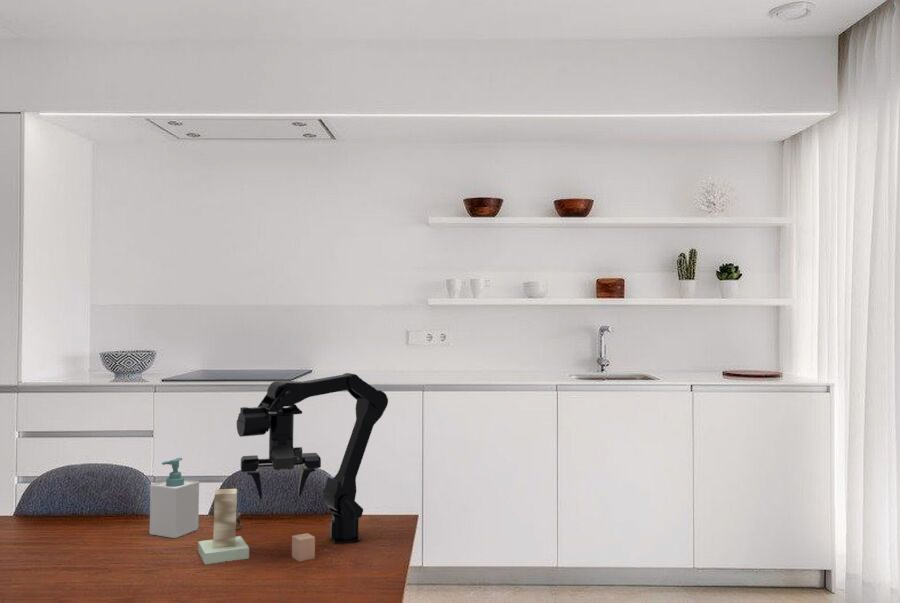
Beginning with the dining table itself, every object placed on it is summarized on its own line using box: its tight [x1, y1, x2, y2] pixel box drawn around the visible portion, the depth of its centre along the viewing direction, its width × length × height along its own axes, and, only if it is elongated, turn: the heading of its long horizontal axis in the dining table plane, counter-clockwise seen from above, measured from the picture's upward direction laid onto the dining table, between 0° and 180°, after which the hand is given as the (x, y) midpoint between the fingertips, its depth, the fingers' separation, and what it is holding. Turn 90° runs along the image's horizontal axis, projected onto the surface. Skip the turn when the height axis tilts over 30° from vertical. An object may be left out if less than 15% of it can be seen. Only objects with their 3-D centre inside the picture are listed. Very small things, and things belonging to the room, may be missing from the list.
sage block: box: [197, 535, 250, 565], centre depth 174 cm, size 10×10×3 cm
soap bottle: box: [149, 457, 200, 539], centre depth 192 cm, size 9×9×19 cm
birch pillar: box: [212, 488, 238, 548], centre depth 175 cm, size 5×5×12 cm
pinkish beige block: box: [291, 532, 316, 562], centre depth 173 cm, size 4×4×5 cm
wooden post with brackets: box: [236, 512, 244, 530], centre depth 193 cm, size 2×8×4 cm, turn 143°
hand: (280, 497), depth 178 cm, fingers open, 9 cm apart
